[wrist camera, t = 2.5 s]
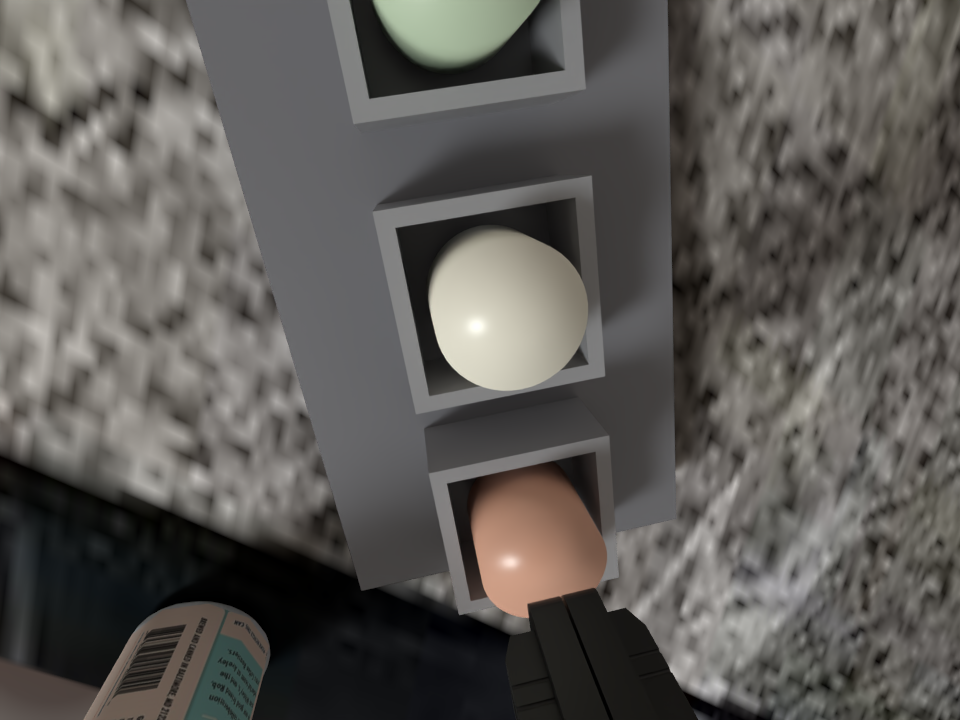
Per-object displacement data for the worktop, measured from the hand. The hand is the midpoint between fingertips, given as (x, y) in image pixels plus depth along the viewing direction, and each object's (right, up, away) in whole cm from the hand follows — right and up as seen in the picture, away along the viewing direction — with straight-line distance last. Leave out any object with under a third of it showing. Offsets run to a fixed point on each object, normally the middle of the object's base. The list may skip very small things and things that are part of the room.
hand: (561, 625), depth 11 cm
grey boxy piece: (-2, +9, +5) cm, 10 cm away
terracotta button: (-1, +2, +4) cm, 5 cm away
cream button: (-2, +8, +2) cm, 8 cm away
